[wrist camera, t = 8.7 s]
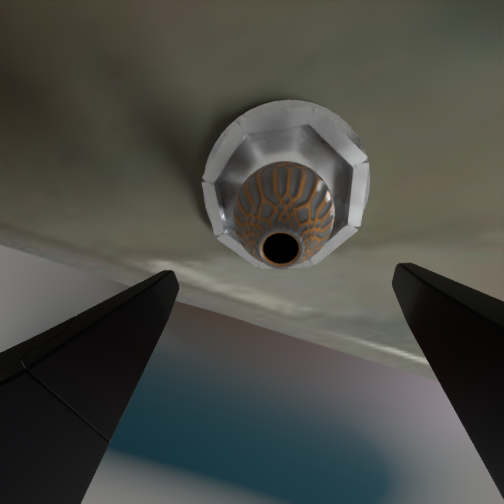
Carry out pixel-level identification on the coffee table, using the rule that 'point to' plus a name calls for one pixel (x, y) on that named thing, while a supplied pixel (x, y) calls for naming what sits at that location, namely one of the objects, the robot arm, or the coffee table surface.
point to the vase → (283, 214)
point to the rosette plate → (288, 149)
